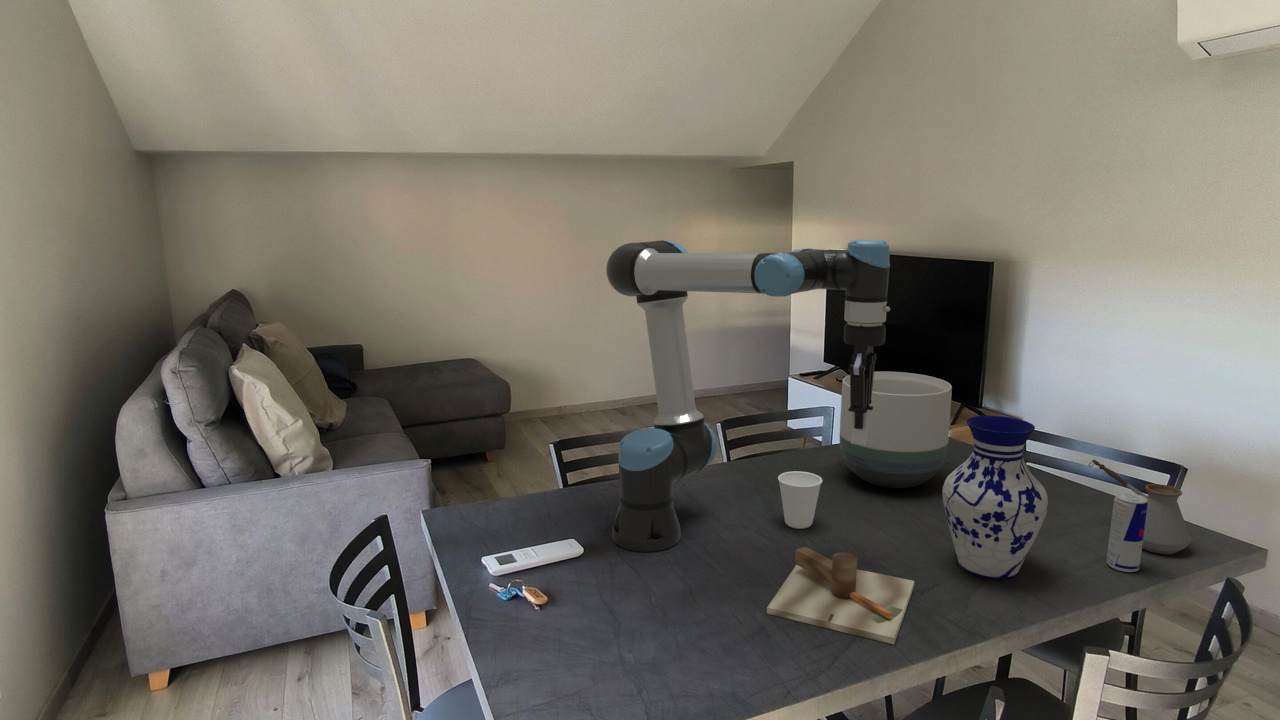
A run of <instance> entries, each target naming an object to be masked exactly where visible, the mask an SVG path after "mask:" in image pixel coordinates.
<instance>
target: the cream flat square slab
mask: <svg viewBox="0 0 1280 720" xmlns="http://www.w3.org/2000/svg"><path fill="white" fill-rule="evenodd" d="M914 589H915V580H911V579H906V578H902V577H897V576H892V575H887V574H884V573H877V572H872V571H867V570H863V569H858V568H857V574H856V593H858V594H860V595H862V596H863V597H865V598H867V599H869V600H871V601H872V602H874V603H876V604H878V605H880V606H881V607H883V608H885V609H887V610H889V611H891V612H892V613H893V617H891V618H889V619H888V618H887V617H885V616H883V615H881V614H880V613H878V612H876V611H874V610H872V609H871V608H869V607H867V606H865V605H864V604H862V603H860V602H858V601H856V600H855V599H853V598H851V597H849V598H843V597H838V596H836V595H834V594H833V593H832V592H831V584H830V583H828V582H827V581H825V580H823V579H821V578H819V577H818V576H816V575H814V574H812V573H810V572H809V571H807V570H805V569H803V568H802V567H800V566H798V565H796V564H795V566H794V567H793V569H792V570H791V572H790V574H789V575H788V576H787V578H785V580H784V582H783V584H782V585H781V586H780V588H779V589H778V591H777V592H776V593H775V595H774V597H772V600H771V601H770V603H769V604H768V605H767V607H766V614H768V615H772V616H775V617H780V618H783V619H788V620H791V621H797V622H800V623H804V624H809V625H812V626H817V627H820V628H824V629H828V630H832V631H838V632H842V633H845V634H848V635H853V636H857V637H861V638H865V639H870V640H872V641H873V640H874V641H879V642H882V643H885V644H889V645H895V643H896V640H897V637H898V635H899V632H900V629H901V626H902V623H903V619H904V617H905V613H906V611H907V610H908V609H907V608H908V605H909V602H910V600H911V596H912V594H913V590H914Z"/></svg>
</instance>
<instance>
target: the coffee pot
mask: <svg viewBox="0 0 1280 720" xmlns="http://www.w3.org/2000/svg"><path fill="white" fill-rule="evenodd" d="M1091 464H1092V465H1091ZM1094 465H1095V466H1098V467H1099V469H1100V470H1102V471H1104V472H1105V473H1106V474H1107V475H1108V476H1110V477H1111V478H1112V479H1113V480H1115V481H1116V482H1118V483H1121V485H1123V486H1125V487H1127V488H1128V489H1130V490H1131V491H1132V492H1134V494H1138V495H1141V496H1143V497H1145V498H1146V499H1147V504H1148V506H1147V514H1146V521H1145V529H1144V537H1143V544H1142V550H1145V551H1147V552H1151V553H1156V554H1161V555H1173V554H1177V553H1178V552H1179V551H1180V552H1181V551H1182V550H1185V549H1186V548H1187V547H1188V546H1189V545H1190V544H1191V542H1192V541H1191V540H1192V539H1191V535H1190V532H1189V531H1188V528H1187V525H1186V522H1185V519H1184V517H1183V514H1182V511H1181V508H1180V506H1179V503H1178V499H1179V497H1181V496H1182V494H1183V491H1182V490H1181V489H1179V488H1177V487H1174V486H1173V485H1168V484H1161V483H1160V484H1159V483H1149V484H1146V485H1145V486H1144V487H1145V490H1146V491H1147V492H1146V493H1147V495H1146V494H1145V493H1143V492H1142V491H1140V490H1139V489H1138V488H1136V487H1135V486H1133V485H1131V484H1130V483H1129V482H1128V481H1127V480H1125V479H1124V478H1123V477H1122V476H1120V475H1119V474H1117V473H1116V472H1115V471H1114V470H1112V469H1110V468H1108V467H1106V466H1105V464H1104V463H1103V464H1102V463H1100V462H1099V461H1097V460H1096V459H1092V461H1091V462H1089V464H1088V467H1089V468H1092V467H1093V466H1094Z"/></svg>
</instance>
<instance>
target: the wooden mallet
mask: <svg viewBox="0 0 1280 720" xmlns="http://www.w3.org/2000/svg"><path fill="white" fill-rule="evenodd" d="M794 553H795V555H794V565H795V566H796V565H798V566H800V567H802V568H803V569H805V570H807V571H809V572H810V573H812V574H814V575H816V576H818V577H819V578H821V579H823V580H825V581H827V582H828V583H830V584H831V592H832V593H833V594H834V595H836V596H838V597H843V598H849V597H851V598H853V599H855V600H856V601H858V602H860V603H862V604H864V605H865V606H867V607H869V608H871V609H872V610H874V611H876V612H878V613H880V614H881V615H883V616H885V617H887V618H888V619H889V618H891V617H893V613H892V612H891V611H889V610H887V609H885V608H883V607H881V606H880V605H878V604H876V603H874V602H872V601H871V600H869V599H867V598H865V597H863V596H862V595H860V594H858V593H856V574H857V569H858V557H857V556H856V555H855V554H853V553H849V552H845V551H844V552H843V551H842V552H835V553H834V554H833V555H832V559H830V558H828V557H826V556H824V555H822V554H821V553H819V552H816V551H815V550H814V549H811V548H809V547H807V546H803V547H800V548H797V549H795V552H794Z"/></svg>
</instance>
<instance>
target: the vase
mask: <svg viewBox="0 0 1280 720" xmlns="http://www.w3.org/2000/svg"><path fill="white" fill-rule="evenodd" d="M966 424H967V426H968V428H969V430H970V432H971V434H972V437H973V445H974V446H973V449H972V452H971V454H970V455H969V457H968V458H967V459H966V460H965V461H964V462H963V463H961V464H960V465H959V466H958V467H957V468H954V470H953V471H951V472H950V474H949V475H947V477H945V478H946V479H945V480H944V484H943V486H942V503H943V508H944V512H945V517H946V520H947V525H948V528H949V532H950V536H951V540H952V543H953V546H954V549H955V554H956V558H957V562H958V565H959V566H960V568H961V569H963V570H964V571H965V572H966V573H968V574H971V575H972V576H976V577H979V578H982V579H987V580H995V581H1004V580H1005V581H1006V580H1010V579H1013V578H1015V577H1016V576H1018V574H1019V571H1020V570H1021V567H1022V565H1023V563H1024V561H1025V559H1026V558H1027V555H1028V553H1029V552H1030V550H1031V548H1032V546H1033V544H1034V542H1035V540H1036V538H1037V537H1038V534H1039V532H1040V530H1041V528H1042V525H1043V524H1044V521H1045V520H1046V519H1045V518H1046V516H1047V514H1048V509H1049V498H1048V494H1047V492H1046V489H1045V487H1044V486H1043V484H1042V483H1041V482H1040V480H1039V479H1038V478H1037V477H1036V475H1034V473H1033V472H1032V471H1031V470H1030V469H1029V467H1028V466H1027V463H1026V462H1025V459H1024V456H1023V454H1024V453H1023V451H1024V447H1025V445H1026V442H1027V441H1028V439H1029V438H1030V436H1031V435H1032V434H1033V432H1034V431H1035V429H1036V426H1035V425H1034V424H1033V423H1031V422H1029V421H1026V420H1023V419H1019V418H1014V417H1010V416H1004V415H1003V416H1002V415H975V416H971V417H968V418H967V419H966Z"/></svg>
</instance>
